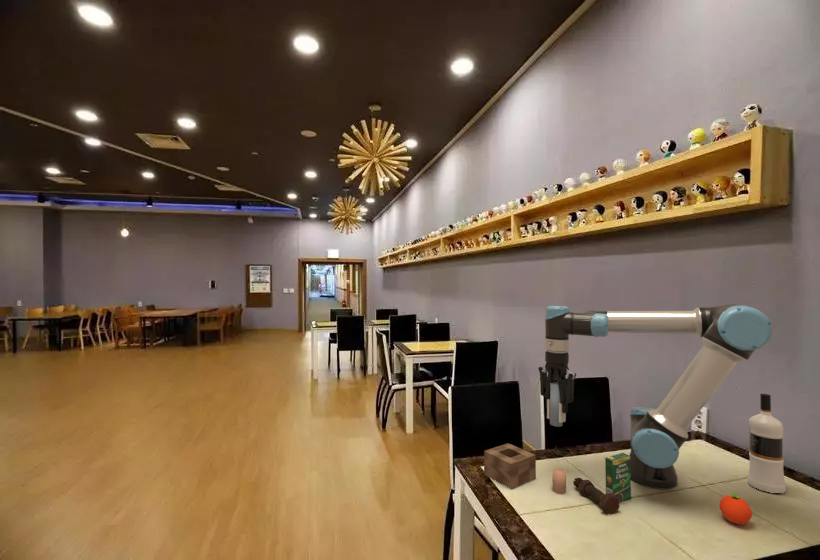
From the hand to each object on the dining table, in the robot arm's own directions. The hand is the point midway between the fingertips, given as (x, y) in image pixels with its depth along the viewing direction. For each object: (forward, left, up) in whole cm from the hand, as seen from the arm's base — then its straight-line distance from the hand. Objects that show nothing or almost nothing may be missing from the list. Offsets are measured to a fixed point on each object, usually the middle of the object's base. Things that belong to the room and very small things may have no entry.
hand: (556, 419), depth 135 cm
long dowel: (0, 0, -2) cm, 2 cm away
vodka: (-43, -49, -19) cm, 68 cm away
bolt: (-16, +4, -19) cm, 25 cm away
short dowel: (-7, +8, -19) cm, 22 cm away
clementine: (-44, -18, -19) cm, 51 cm away
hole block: (+8, +14, -19) cm, 25 cm away
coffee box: (-20, -2, -19) cm, 28 cm away
